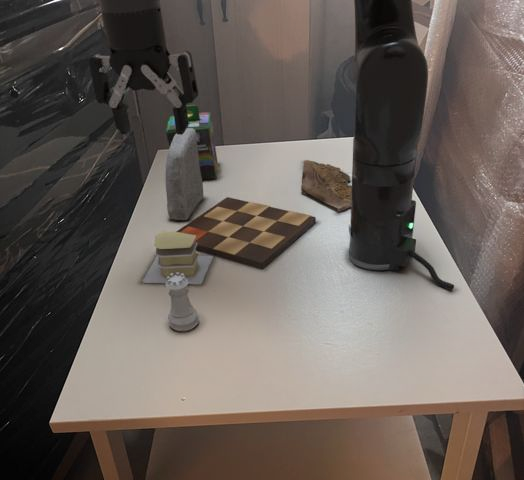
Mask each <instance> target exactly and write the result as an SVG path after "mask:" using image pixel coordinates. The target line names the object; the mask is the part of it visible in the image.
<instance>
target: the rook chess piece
mask: <svg viewBox="0 0 524 480" xmlns="http://www.w3.org/2000/svg"><path fill="white" fill-rule="evenodd" d="M188 283H189V281H188V279H186V278H185V275H184V274H183V273H182V274H181V275H180V273H176V276H174V275H173V273H172V274H170V277H169V276H168V277H167V282H166V283H164V284H165V287H166V288H167V289H168V290H169V292H168V295H169V297H170V301H171V307H170V310H169V313H168V325H169V327H171V328H172V329H173V330H175V331H178V332H188V331H191V330H192V329H195V327H196V326H197V325H198V324H199V321H200V317H199V314H198V311H197V308H195V307H194V305H193V304H192V303H191V301H190V298H189V292H190V291H189V289H188V288H187V287H188V285H189V284H188Z"/></svg>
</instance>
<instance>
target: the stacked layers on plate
mask: <svg viewBox="0 0 524 480" xmlns="http://www.w3.org/2000/svg"><path fill="white" fill-rule="evenodd" d="M195 237H196V235H191V234H186V233H180V232H176V231H175V230H163V231H161V232H159V233H156V234H155V235H154V243H153V244H154V248H155V254H156V257H155V259H154V261H152V264H151V266H150V268H149V269H148V271H147V273H146V274H145V276H144V278H143V279H142V281H141V283H142V284H145V283H146V284H166V282H167V277H168V276H169V277H170V274H172V273H173V275H174V276H176V273H180V275H181V274H182V273H183V274H184V275H185V278H186V279H188V281H189V283H188V285H202V283H203V281H204V279H205V277H206V274H207V272H208V270H209V268H210V265H211V263H212V260H213V258H214V255H200V253H199V252H197V250H196V246H197V242H193V241H194V239H195Z"/></svg>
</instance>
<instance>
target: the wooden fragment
mask: <svg viewBox="0 0 524 480" xmlns="http://www.w3.org/2000/svg"><path fill="white" fill-rule="evenodd" d="M350 180H351V177H350V175H349V174H347V173H346V172H344V171H342V170H341V168H340V167H338V166H337V167H336V166H334V165H331V164H328V163H327V164H325V163H322V162H321V163H319V162H316V161H314V160H309V159H304V160H303V167H302V174H301V186H300V188H301V189H300V191H301V192H304V193H306V194H309V195H311V196H312V197H314V198H316V199H318V200H319V201H322V202H324V203H325V204H327V205H329V206H331V207H334V208H336V209H337V214H338V213H340V212H343V211H345V210H347V209H349V208H351V194H352V185H349V183H348V182H349V181H350Z"/></svg>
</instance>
